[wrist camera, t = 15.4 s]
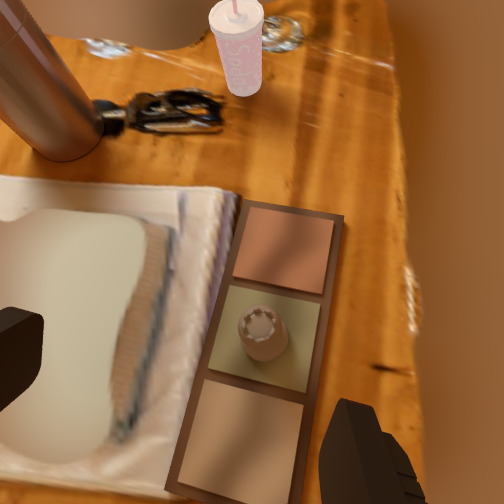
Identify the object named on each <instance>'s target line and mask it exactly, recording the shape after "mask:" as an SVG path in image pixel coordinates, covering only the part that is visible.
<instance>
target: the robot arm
mask: <svg viewBox="0 0 504 504" xmlns="http://www.w3.org/2000/svg"><path fill="white" fill-rule="evenodd" d="M0 119H1V120H2V121H3V122H4V123H5V124H7V125H8V126H9V127H10V128H11V129H12V130H13V131H14V132H15V133H16V134H17V135H19V136H20V137H21V138H22V139H23V140H24V141H25V142H26V143H27V144H28V145H29V146H31V147H33V148H35V149H36V150H37V151H38V152H39V153H41V154H42V155H43V156H44V157H45V158H47V159H49V160H52V161H58V162H65V161H70V160H74V159H77V158H79V157H81V156H83V155H85V154H87V153H88V152H89V151H91V150H92V149H93V148H94V147H95V146H96V145H97V144H98V142H99V140H100V139H101V137H102V134H103V132H104V122H103V119H102V117H101V115H100V113H99V112H98V111H97V109H96V108H95V106H94V105H93V103H92V102H91V100H90V99H89V98H88V96H87V95H86V93H85V92H84V90H83V89H82V87H81V86H80V84H79V83H78V81H77V80H76V79H75V77H74V76H73V74H72V73H71V71H70V70H69V68H68V67H67V66H66V64H65V63H64V61H63V60H62V58H61V57H60V55H59V54H58V53H57V51H56V50H55V48H54V47H53V45H52V44H51V42H50V41H49V40H48V38H47V37H46V35H45V34H44V32H43V31H42V30H41V28H40V27H39V25H38V24H37V22H36V21H35V20H34V18H33V17H32V15H31V14H30V12H29V11H28V9H27V8H26V7H25V5H24V4H23V2H22V1H21V0H0ZM43 330H44V319H43V317H42V316H41V315H40V314H37V313H33V312H30V311H26V310H23V309H19V308H15V307H7V308H4V309H2V310H0V412H1V411H2V410H3V409H4V408H5V407H7V406H8V405H9V404H10V403H11V402H12V401H14V400H15V399H16V398H17V397H18V396H19V395H20V394H22V393H23V392H24V391H25V390H26V389H27V388H29V386H30V385H31V384H32V383H33V382H34V380H35V379H36V377H37V375H38V373H39V370H40V367H41V359H42V345H43ZM318 471H319V481H320V491H321V500H322V504H428V503H426V502H425V496H424V493H423V491H422V489H421V486H420V484H419V482H417V477H416V474H415V472H414V470H413V467H412V465H411V463H410V460H409V458H408V455H407V454H406V453H405V451H404V450H403V449H402V447H401V446H400V445H399V444H398V442H397V441H396V440H395V439H394V437H393V436H392V435H391V434H389V433H385V432H382V431H381V428H380V425H379V422H378V419H377V417H376V414H375V411H374V409H373V407H371V406H369V405H366V404H362V403H358V402H355V401H351V400H347V399H344V398H341V399H340V400H339V401H338V403H337V405H336V407H335V410H334V413H333V415H332V418H331V421H330V423H329V426H328V429H327V431H326V434H325V437H324V439H323V442H322V445H321V449H320V454H319V464H318Z"/></svg>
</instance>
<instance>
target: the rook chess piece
mask: <svg viewBox="0 0 504 504" xmlns="http://www.w3.org/2000/svg"><path fill="white" fill-rule="evenodd" d="M237 327H238V333H239V336H240V340H241V345H242V347H243V349H244V351H245V352H246V354H247V355H248V356H250V357H251V358H253V359H254V360H257V361H261V362H268V361H273V360H275V359H276V358H278V357H279V356H281V355H282V354H283V352H284V351H285V349H286V347H287V344H288V338H289V335H288V331H287V327H286V325H285V324H284V322H283V321H282V319H281V318H280V316H279V315H278V313H277V312H276V310H274V309H273V308H271V307H270V306H267V305H262V304H258V305H253V306H250V307H249V308H247V309H246V310H244V312H243V313H242V315H241V316H240V318H239V322H238V326H237Z"/></svg>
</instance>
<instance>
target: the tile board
mask: <svg viewBox="0 0 504 504" xmlns="http://www.w3.org/2000/svg"><path fill="white" fill-rule="evenodd" d="M343 221H344V216H343V215H337V214H331V213H325V212H319V211H313V210H307V209H301V208H294V207H288V206H282V205H276V204H270V203H264V202H258V201H252V200H246V199H244V202H243V206H242V209H241V213H240V217H239V220H238V224H237V227H236V231H235V235H234V238H233V242H232V246H231V249H230V253H229V256H228V260H227V264H226V267H225V271H224V274H223V278H222V282H221V285H220V289H219V293H218V296H217V300H216V303H215V307H214V311H213V314H212V318H211V322H210V325H209V329H208V332H207V336H206V340H205V343H204V347H203V350H202V354H201V358H200V361H199V365H198V369H197V372H196V376H195V379H194V383H193V387H192V390H191V394H190V397H189V401H188V405H187V408H186V412H185V416H184V419H183V423H182V426H181V430H180V434H179V437H178V441H177V444H176V448H175V452H174V455H173V459H172V463H171V466H170V470H169V473H168V477H167V481H166V484H165V488H164V490H165V491H168V492H171V493H174V494H177V495H180V496H183V497H187V498H190V499H193V500H196V501H199V502H202V503H205V504H300V501H301V495H302V488H303V482H304V475H305V469H306V462H307V456H308V449H309V443H310V436H311V430H312V423H313V416H314V410H315V403H316V397H317V390H318V384H319V377H320V371H321V364H322V358H323V351H324V345H325V338H326V332H327V325H328V319H329V312H330V305H331V299H332V292H333V286H334V279H335V273H336V266H337V260H338V253H339V247H340V240H341V234H342V227H343ZM258 304H262V305H267V306H270V307H271V308H273V309H274V310H276V312H277V313H278V315H279V316H280V318H281V319H282V321H283V322H284V324H285V325H286V327H287V331H288V335H289V338H288V344H287V347H286V349H285V351H284V352H283V354H282V355H281V356H279V357H278V358H276V359H275V360H273V361H268V362H261V361H257V360H254V359H253V358H251V357H250V356H248V355H247V354H246V352H245V351H244V349H243V347H242V345H241V340H240V336H239V333H238V327H237V326H238V322H239V318H240V316H241V315H242V313H243V312H244V310H246V309H247V308H249V307H250V306H253V305H258Z"/></svg>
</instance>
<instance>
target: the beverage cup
mask: <svg viewBox="0 0 504 504" xmlns="http://www.w3.org/2000/svg"><path fill="white" fill-rule="evenodd" d="M263 17H264V11H263V7H262V5H261V4H259V2H257V0H223V1H221V2H219V3H217V4H216V5H215V6H214V7H213V8H212V9H211V12H210V14H209V22H210V26H211V31H212V32H213V33H214V34H215V38H216V42H217V46H218V50H219V53H220V57H221V61H222V65H223V69H224V73H225V77H226V81H227V85H228V88H229V90H230V91H231V93H233V94H235V95H237V96H243V97H244V96H249V95H252V94H254V93H256V92H257V91H258V90H259V88H260V86H261V83H262V25H263V22H264V19H263Z"/></svg>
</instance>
